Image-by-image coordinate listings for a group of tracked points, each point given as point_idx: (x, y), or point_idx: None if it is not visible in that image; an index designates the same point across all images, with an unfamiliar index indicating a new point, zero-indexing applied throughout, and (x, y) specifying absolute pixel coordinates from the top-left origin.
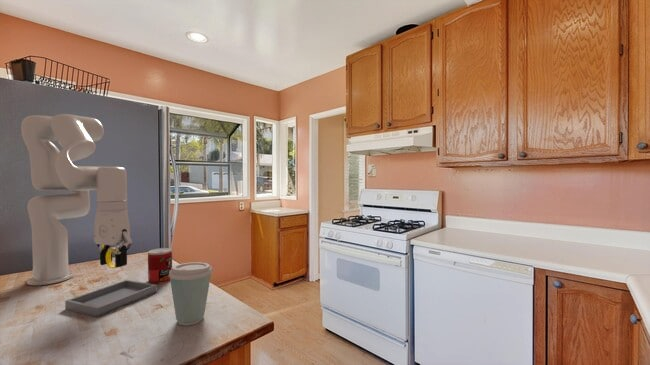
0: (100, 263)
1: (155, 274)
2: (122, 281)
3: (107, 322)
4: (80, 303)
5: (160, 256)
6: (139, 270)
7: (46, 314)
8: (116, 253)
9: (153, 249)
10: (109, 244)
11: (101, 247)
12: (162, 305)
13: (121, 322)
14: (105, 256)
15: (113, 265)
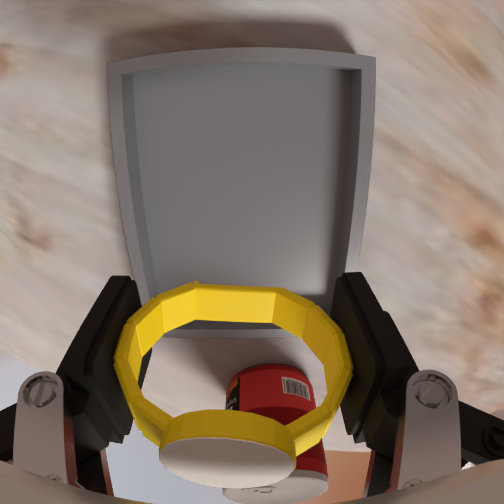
0: (358, 277)
1: (250, 394)
2: None
3: (54, 71)
4: (257, 53)
5: None
6: None
7: (379, 11)
8: (129, 401)
9: (323, 490)
10: (13, 485)
11: (416, 434)
12: (30, 244)
13: (19, 100)
14: (353, 356)
15: (259, 317)
